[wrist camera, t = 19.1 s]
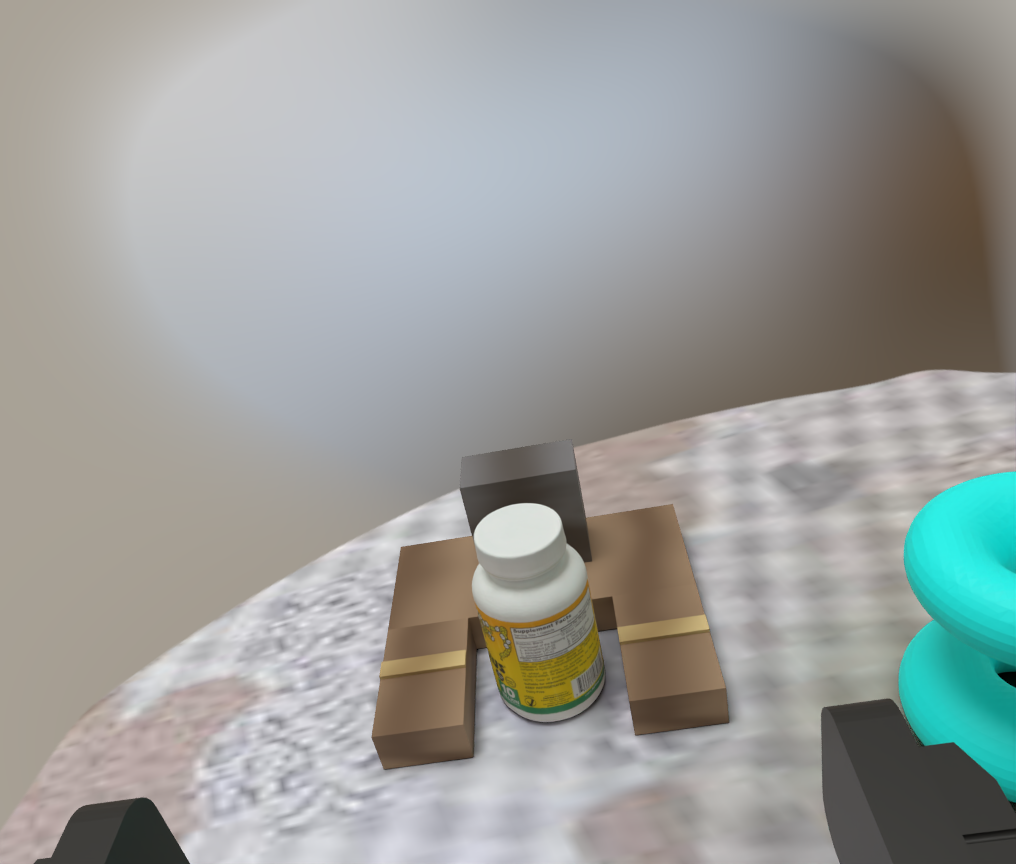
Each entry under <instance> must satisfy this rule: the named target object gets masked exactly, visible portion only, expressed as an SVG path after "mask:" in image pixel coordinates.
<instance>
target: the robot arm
mask: <svg viewBox="0 0 1016 864" xmlns="http://www.w3.org/2000/svg"><path fill="white" fill-rule="evenodd" d="M821 734H822V787H823V801H824V807H825V813H826V818H827V822H828V826H829V831H830V834H831V838H832V841H833V845H834V848H835V851H836V854H837V856H838V859H839V862H840V864H1016V813H1015V812H1014V810H1013V808H1012V806H1011V805H1010V803H1009V801H1008V799H1007V798H1006V796H1005V794H1004V792H1003V791H1002V789H1001V787H1000V785H999V783H998V782H997V780H996V779H995V778H994V777H993V776H991V775H990V774H989V773H988V772H987V771H986V770H985V769H984V768H982V767H981V766H980V765H979V764H978V763H977V762H976V761H975V760H973V759H972V758H971V757H970V756H969V755H968V754H967V753H965V752H964V751H963V750H962V749H961V748H960V747H959V746H958V745H956V744H955V743H954V742H951V743H943V744H935V745H928V746H920V747H918V745H917V743H916V741H915V739H914V737H913V735H912V733H911V731H910V729H909V727H908V725H907V723H906V721H905V719H904V717H903V715H902V713H901V712H900V710H899V708H898V707H897V705H896V704H895V703H894V701H893V700H891V699H881V700H874V701H866V702H859V703H852V704H844V705H837V706H830V707H824V708H823V709H822V713H821ZM34 864H190V863H189V861H188V859H187V858H186V856H185V854H184V853H183V851H182V849H181V848H180V846H179V844H178V843H177V841H176V839H175V838H174V836H173V834H172V833H171V831H170V829H169V828H168V826H167V824H166V823H165V821H164V819H163V818H162V816H161V814H160V813H159V811H158V809H157V807H156V806H155V805H154V803H153V802H152V801H151V800H150V799H147V798H135V799H128V800H120V801H113V802H106V803H98V804H91V805H85V806H82V807H81V808H79V809H78V810H77V811H76V812H75V813H74V814H73V815H72V817H71V818H70V820H69V822H68V823H67V825H66V828H65V830H64V832H63V834H62V836H61V838H60V840H59V842H58V844H57V847H56V849H55V851H54V853H53V855H52V857H51V858H45V859H37V861H36V862H35V863H34Z"/></svg>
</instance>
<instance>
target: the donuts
mask: <svg viewBox="0 0 1016 864" xmlns="http://www.w3.org/2000/svg"><path fill="white" fill-rule="evenodd" d="M904 565H905V570H906V574H907V578H908V581H909V584H910V586H911V588H912V590H913V592H914V594H915V595H916V597H917V599H918V600H919V602H920V603H921V605H922V606H923V608H924V609H925V610H926V611H927V612H928V614H929V615H930V616H931V617H932V618H933V619H934V620H932V621H931V622H930V623H928V624H927V625H926V626H925V627H923V628H922V629H921V630H920V631H919V632H918V634H917V635H916V636H915V637H914V638H913V639H912V641H911V642H910V644H909V645H908V647H907V649H906V651H905V653H904V656H903V658H902V661H901V665H900V669H899V695H900V700H901V703H902V706H903V709H904V712H905V715H906V717H907V719H908V722H909V724H910V725H911V727H912V729H913V730H914V732H915V734H916V735H917V736H918V738H919V739H920V740H921V742H922V743H923V744H924V745H925V746H928V745H935V744H943V743H951V742H954V743H955V744H956V745H958V746H959V747H960V748H961V749H962V750H963V751H964V752H965V753H967V754H968V755H969V756H970V757H971V758H972V759H973V760H975V761H976V762H977V763H978V764H979V765H980V766H981V767H982V768H984V769H985V770H986V771H987V772H988V773H989V774H990V775H991V776H993V777H994V778H995V779H996V780H997V782H998V783H999V785H1000V787H1001V789H1002V791H1003V792H1004V794H1005V796H1006V798H1007V799H1008V800H1009V801H1012V802H1016V688H1015V687H1013V686H1011V685H1010V684H1008V683H1006V682H1005V681H1004V680H1003V679H1001V678H1000V677H999V676H998V675H997V674H998V673H1003V672H1016V472H1005V473H998V474H992V475H987V476H982V477H978V478H975V479H971V480H968V481H965V482H963V483H960V484H958V485H956V486H953V487H951V488H949V489H947V490H945V491H944V492H942V493H940V494H939V495H937V496H936V497H934V498H933V499H932V500H931V501H929V502H928V503H927V504H926V505H925V506H924V507H923V508H922V510H921V511H920V512H919V513H918V514H917V516H916V517H915V518H914V520H913V522H912V523H911V526H910V528H909V531H908V533H907V536H906V539H905V545H904Z"/></svg>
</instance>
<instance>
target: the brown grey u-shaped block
mask: <svg viewBox="0 0 1016 864" xmlns="http://www.w3.org/2000/svg"><path fill="white" fill-rule="evenodd" d="M460 491H461V495H462V499H463V503H464V506H465V510H466V514H467V518H468V522H469V526H470V529H471V533H472V536H468V537H462V538H455V539H449V540H443V541H436V542H430V543H424V544H417V545H411V546H405V547H401V551H400V557H399V563H398V570H397V576H396V583H395V589H394V596H393V602H392V609H391V615H390V621H389V628H388V634H387V641H386V647H385V654H384V660H383V662H382V663H381V670H380V676H379V677H380V686H379V692H378V699H377V705H376V712H375V718H374V724H373V731H372V740H373V742H374V745H375V748H376V750H377V753H378V755H379V758H380V760H381V763H382V766H383V768H384V769H390V768H397V767H405V766H412V765H419V764H427V763H434V762H442V761H449V760H456V759H464V758H471V757H473V752H474V721H475V689H476V658H477V649H479V648H486V647H487V646H486V642H485V638H484V634H483V631H482V627H481V623H480V620H479V617H478V612H477V609H476V605H475V602H474V598H473V593H472V580H473V576H474V572H475V570H476V568H477V566H478V565H479V561H478V559H477V553H476V548H475V543H474V532H475V529H476V527H477V525H478V524H479V523H480V521H481V520H482V519H483V518H485V517H486V516H487V515H489V514H490V513H492V512H494V511H496V510H498V509H500V508H503V507H506V506H509V505H513V504H521V503H533V504H540V505H544V506H547V507H549V508H551V509H553V510H554V511H555V512H556V513H557V514H558V515H559V517H560V518H561V521H562V525H563V530H564V534H565V536H566V543H567V544H568V545H570V546H571V547H572V548H574V549H575V550H576V551H577V552H578V554H579V555H580V556H581V558H582V560H583V562H584V564H585V567H586V571H587V576H588V582H589V587H590V593H591V598H592V604H593V609H594V614H595V620H596V624H597V630H598V631H602V630H609V629H616V628H617V629H618V635H619V641H620V647H621V653H622V659H623V665H624V671H625V678H626V684H627V690H628V696H629V702H630V708H631V714H632V720H633V726H634V731H635V735H640V734H648V733H655V732H662V731H670V730H677V729H685V728H692V727H699V726H707V725H714V724H721V723H729V715H728V704H727V693H726V686H725V683H724V679H723V676H722V672H721V669H720V666H719V662H718V659H717V655H716V652H715V648H714V645H713V641H712V638H711V634H710V629H709V626H708V622H707V619H706V615H705V614H704V610H703V607H702V603H701V600H700V596H699V593H698V590H697V586H696V583H695V579H694V576H693V572H692V569H691V565H690V562H689V558H688V555H687V552H686V548H685V545H684V541H683V538H682V534H681V531H680V527H679V524H678V520H677V517H676V514H675V510H674V507H673V504H671V505H664V506H658V507H652V508H645V509H639V510H633V511H626V512H620V513H614V514H607V515H601V516H595V517H588V518H586V516H585V510H584V505H583V499H582V493H581V488H580V482H579V477H578V471H577V466H576V460H575V454H574V449H573V444H572V439H569V440H563V441H557V442H551V443H545V444H539V445H532V446H526V447H521V448H515V449H508V450H502V451H496V452H490V453H485V454H478V455H472V456H467V457H462V464H461V478H460Z"/></svg>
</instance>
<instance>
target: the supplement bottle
mask: <svg viewBox="0 0 1016 864" xmlns="http://www.w3.org/2000/svg"><path fill="white" fill-rule="evenodd" d="M474 543H475V548H476V553H477V559H478V561H479V565H478V566H477V568H476V570H475V572H474V576H473V580H472V593H473V598H474V602H475V605H476V609H477V612H478V617H479V620H480V623H481V627H482V631H483V634H484V638H485V642H486V646H487V649H488V652H489V657H490V661H491V664H492V668H493V671H494V675H495V679H496V682H497V686H498V689H499V692H500V695H501V697H502V699H503V701H504V702H505V704H506V705H507V706H508V707H509V708H511V709H512V710H513V711H515V712H516V713H517V714H519V715H521V716H522V717H524V718H527V719H530V720H534V721H539V722H554V721H560V720H564V719H567V718H570V717H573V716H575V715H577V714H579V713H581V712H582V711H584V710H585V709H586V708H588V707H589V706H590V705H591V704H592V703H593V702H594V701H595V700H596V699H597V697H598V695H599V694H600V692H601V690H602V688H603V685H604V680H605V667H604V660H603V656H602V651H601V646H600V640H599V635H598V630H597V624H596V620H595V614H594V609H593V604H592V598H591V593H590V587H589V582H588V576H587V571H586V567H585V564H584V562H583V560H582V558H581V556H580V555H579V554H578V552H577V551H576V550H575V549H574V548H572V547H571V546H570V545H568V544H567V543H566V536H565V534H564V530H563V525H562V521H561V518H560V517H559V515H558V514H557V513H556V512H555V511H554V510H553V509H551V508H549V507H547V506H544V505H540V504H533V503H521V504H513V505H509V506H506V507H503V508H500V509H498V510H496V511H494V512H492V513H490V514H489V515H487V516H486V517H485V518H483V519H482V520H481V521H480V523H479V524H478V525H477V527H476V529H475V532H474Z"/></svg>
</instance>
